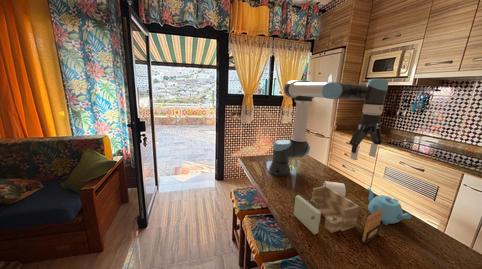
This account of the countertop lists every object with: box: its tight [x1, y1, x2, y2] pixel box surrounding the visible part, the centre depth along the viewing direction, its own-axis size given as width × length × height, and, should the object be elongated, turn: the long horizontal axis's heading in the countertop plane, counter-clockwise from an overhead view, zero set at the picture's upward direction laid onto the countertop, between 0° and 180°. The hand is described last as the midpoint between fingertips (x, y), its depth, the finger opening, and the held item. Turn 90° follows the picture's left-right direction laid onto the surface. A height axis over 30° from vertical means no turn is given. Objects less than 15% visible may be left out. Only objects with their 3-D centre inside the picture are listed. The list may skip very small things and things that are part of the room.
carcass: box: [306, 185, 361, 234], centre depth 89 cm, size 19×14×10 cm
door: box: [293, 194, 322, 235], centre depth 83 cm, size 14×3×10 cm, turn 23°
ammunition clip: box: [360, 209, 382, 244], centre depth 77 cm, size 11×2×12 cm, turn 121°
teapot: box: [367, 187, 413, 226], centre depth 89 cm, size 15×14×11 cm
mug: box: [322, 180, 347, 198], centre depth 110 cm, size 12×10×8 cm
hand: (362, 157), depth 91 cm, fingers open, 13 cm apart
